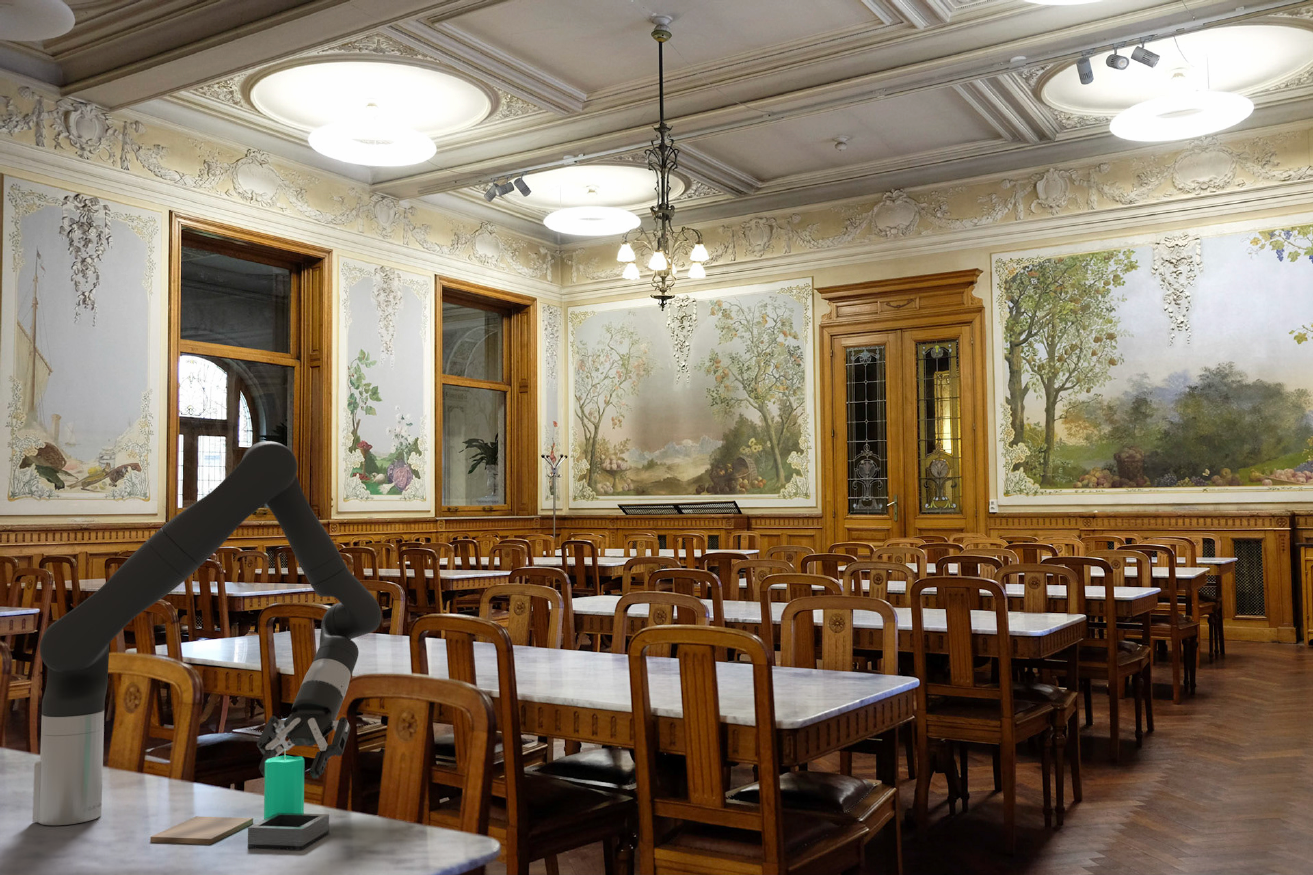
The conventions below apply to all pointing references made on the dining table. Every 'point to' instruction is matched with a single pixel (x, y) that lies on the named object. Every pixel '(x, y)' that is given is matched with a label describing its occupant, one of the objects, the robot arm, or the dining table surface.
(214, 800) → the dining table surface
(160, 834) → the walnut board
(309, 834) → the box
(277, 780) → the candle
